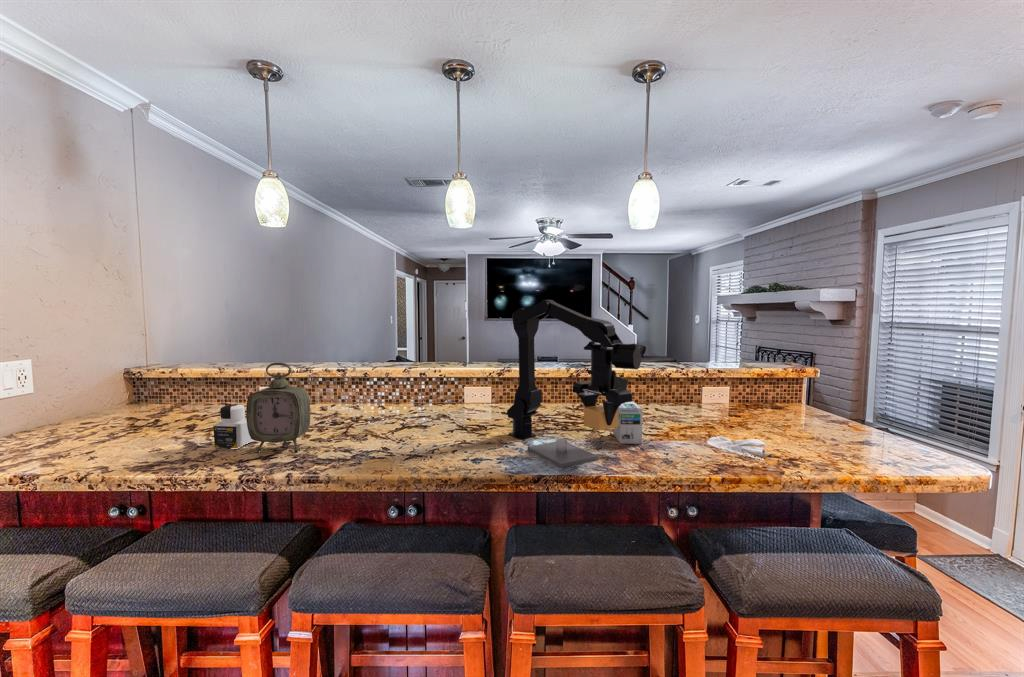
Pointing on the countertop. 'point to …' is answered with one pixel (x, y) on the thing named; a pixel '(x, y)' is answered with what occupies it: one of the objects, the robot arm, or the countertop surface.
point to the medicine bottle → (231, 428)
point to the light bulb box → (629, 424)
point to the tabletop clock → (278, 412)
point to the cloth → (740, 446)
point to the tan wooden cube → (598, 418)
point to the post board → (562, 453)
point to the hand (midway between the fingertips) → (600, 422)
